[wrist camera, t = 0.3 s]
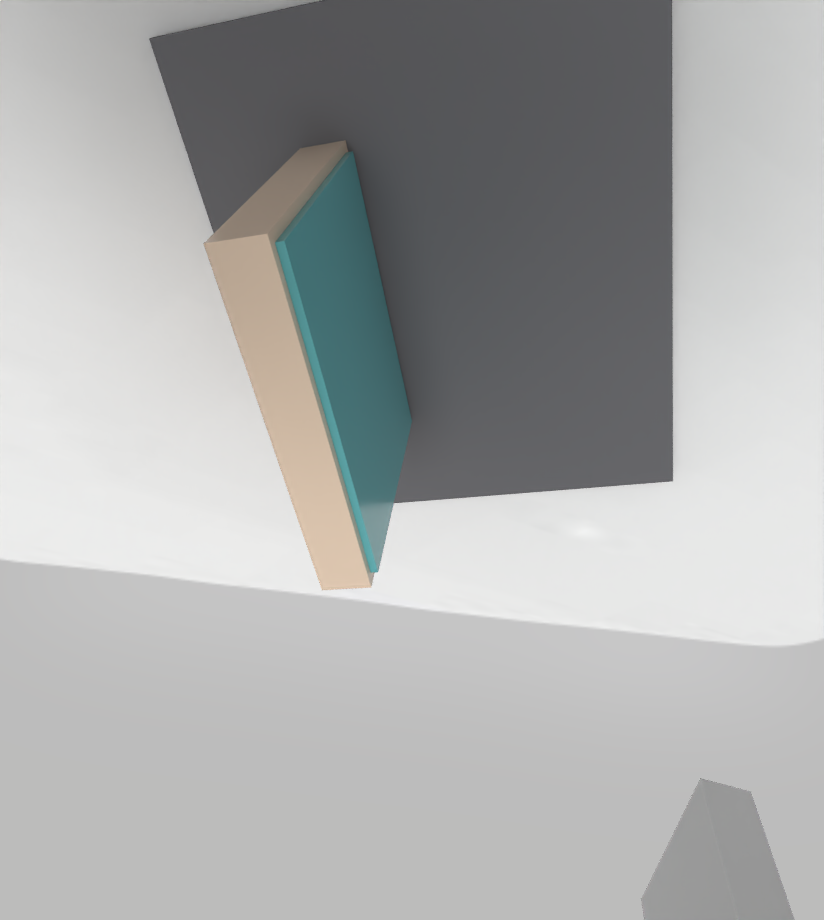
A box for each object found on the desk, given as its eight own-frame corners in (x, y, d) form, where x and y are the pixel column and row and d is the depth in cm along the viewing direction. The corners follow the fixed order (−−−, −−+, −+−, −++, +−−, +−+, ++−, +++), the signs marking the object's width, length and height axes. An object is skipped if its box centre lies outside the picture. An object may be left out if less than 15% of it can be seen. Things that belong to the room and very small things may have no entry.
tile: (300, 148, 32) (203, 243, 23) (352, 138, 32) (277, 232, 22) (371, 427, 40) (322, 589, 30) (414, 423, 39) (378, 587, 30)
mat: (153, 37, 31) (149, 38, 31) (669, -76, 27) (671, -76, 27) (307, 505, 44) (305, 510, 44) (671, 476, 40) (672, 481, 40)
